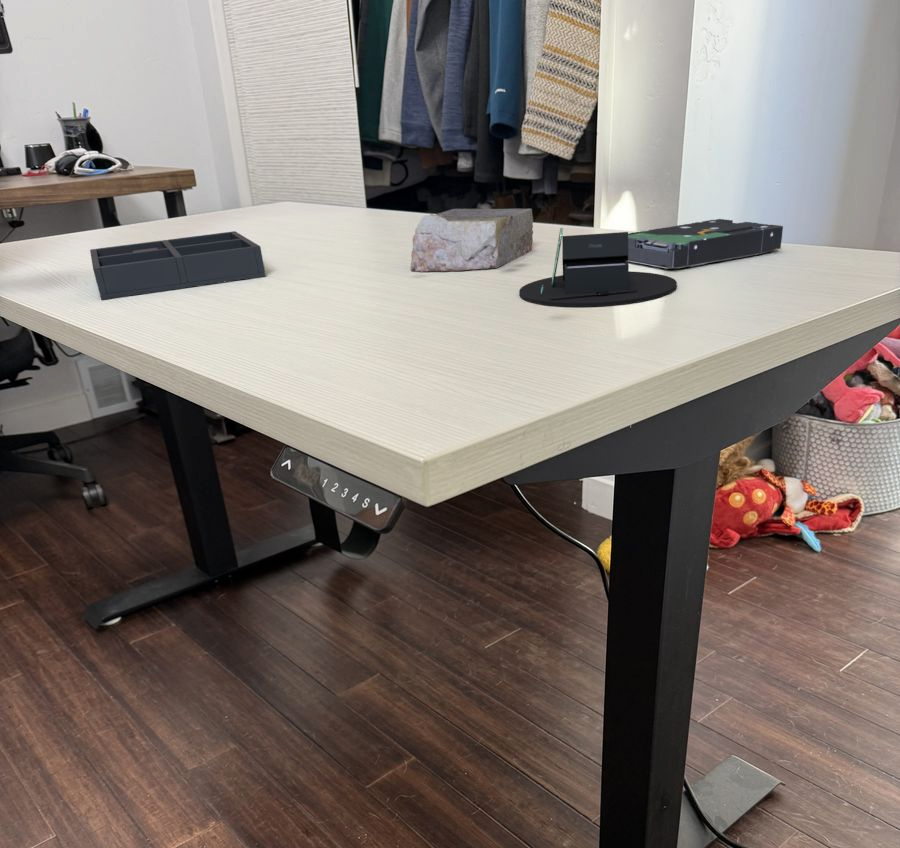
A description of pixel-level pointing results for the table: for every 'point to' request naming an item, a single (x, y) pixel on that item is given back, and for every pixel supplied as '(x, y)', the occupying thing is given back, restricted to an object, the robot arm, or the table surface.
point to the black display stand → (596, 275)
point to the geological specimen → (471, 239)
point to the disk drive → (702, 243)
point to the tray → (175, 264)
